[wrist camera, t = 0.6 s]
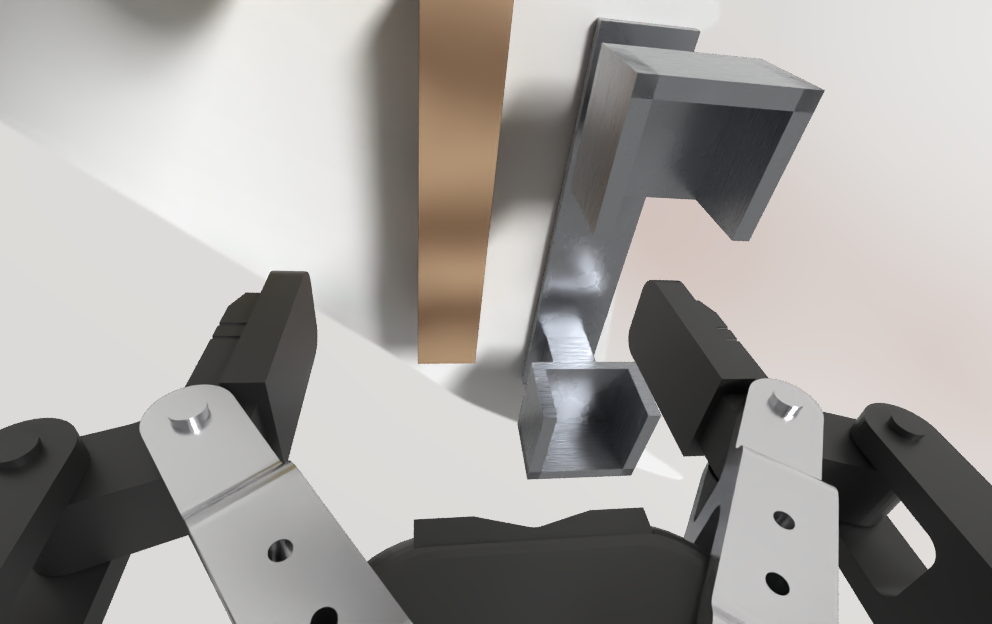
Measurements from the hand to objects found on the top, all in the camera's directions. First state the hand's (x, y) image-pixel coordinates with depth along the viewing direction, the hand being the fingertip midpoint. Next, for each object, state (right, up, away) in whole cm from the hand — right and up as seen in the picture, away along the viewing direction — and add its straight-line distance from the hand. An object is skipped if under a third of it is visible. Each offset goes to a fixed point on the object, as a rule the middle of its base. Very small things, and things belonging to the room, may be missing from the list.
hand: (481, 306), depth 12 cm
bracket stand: (+6, +4, +20) cm, 21 cm away
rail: (-2, +8, +16) cm, 18 cm away
